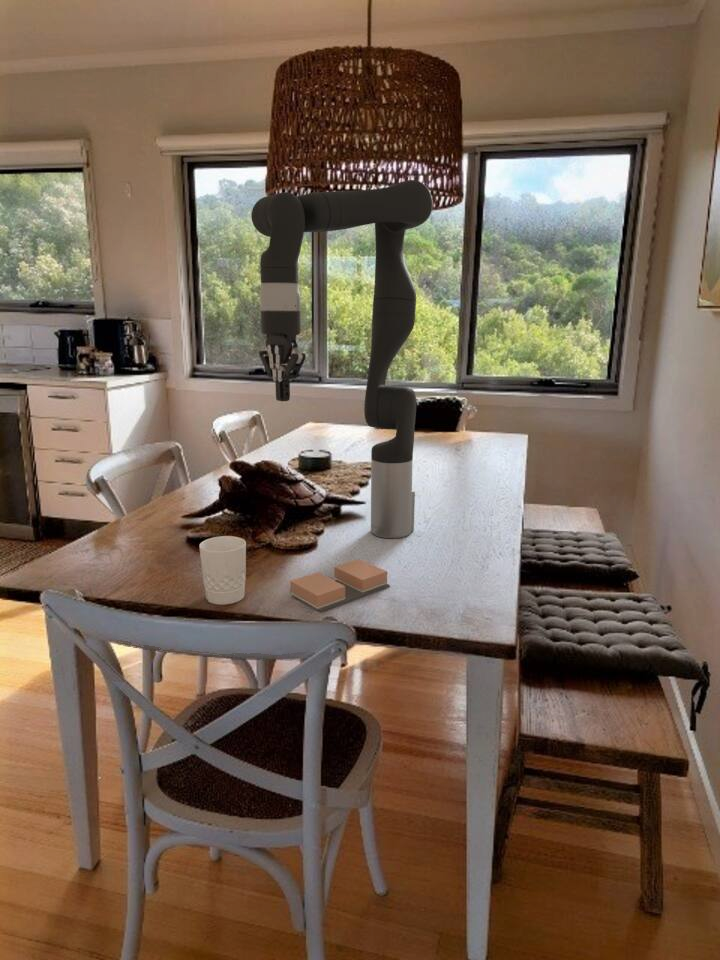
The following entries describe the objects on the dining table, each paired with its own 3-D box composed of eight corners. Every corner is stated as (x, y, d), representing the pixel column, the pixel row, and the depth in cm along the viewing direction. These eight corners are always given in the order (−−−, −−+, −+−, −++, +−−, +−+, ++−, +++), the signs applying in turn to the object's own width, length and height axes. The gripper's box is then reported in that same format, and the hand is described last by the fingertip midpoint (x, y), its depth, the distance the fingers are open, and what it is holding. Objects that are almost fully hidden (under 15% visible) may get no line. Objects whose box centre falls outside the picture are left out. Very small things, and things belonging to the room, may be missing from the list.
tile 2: (358, 559, 123) (387, 571, 117) (358, 570, 123) (387, 583, 117) (334, 566, 119) (362, 580, 113) (334, 578, 119) (362, 592, 114)
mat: (361, 573, 123) (361, 571, 123) (389, 586, 117) (389, 584, 117) (292, 596, 113) (292, 594, 112) (320, 612, 107) (320, 610, 107)
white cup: (193, 599, 112) (189, 545, 109) (225, 584, 118) (223, 533, 115) (225, 610, 107) (222, 555, 105) (257, 594, 114) (255, 541, 111)
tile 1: (317, 572, 116) (345, 586, 110) (317, 584, 117) (345, 598, 111) (290, 581, 112) (317, 595, 107) (290, 593, 113) (317, 608, 107)
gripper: (317, 309, 118) (318, 402, 122) (277, 309, 127) (279, 395, 132) (283, 308, 113) (286, 406, 117) (244, 308, 122) (248, 398, 127)
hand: (282, 400), depth 124 cm, fingers closed
